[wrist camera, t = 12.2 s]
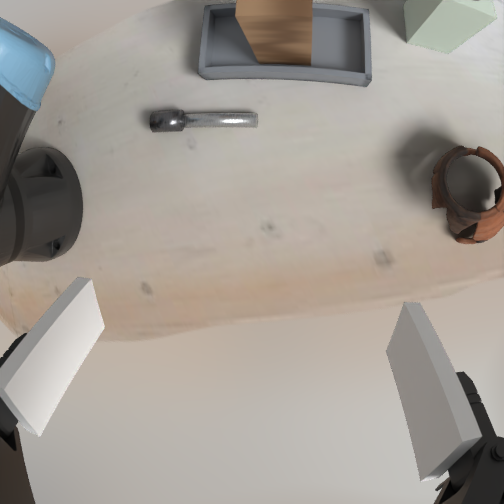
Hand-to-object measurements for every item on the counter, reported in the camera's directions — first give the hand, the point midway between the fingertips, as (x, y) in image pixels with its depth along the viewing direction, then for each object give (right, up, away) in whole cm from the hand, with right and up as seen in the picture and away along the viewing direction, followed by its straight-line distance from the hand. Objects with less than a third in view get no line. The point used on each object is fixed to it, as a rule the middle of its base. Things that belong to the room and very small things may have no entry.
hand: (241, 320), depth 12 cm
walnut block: (+4, +23, +13) cm, 27 cm away
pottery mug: (+23, +9, +15) cm, 29 cm away
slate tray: (+4, +23, +14) cm, 27 cm away
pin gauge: (-4, +16, +17) cm, 24 cm away
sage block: (+19, +26, +10) cm, 34 cm away
